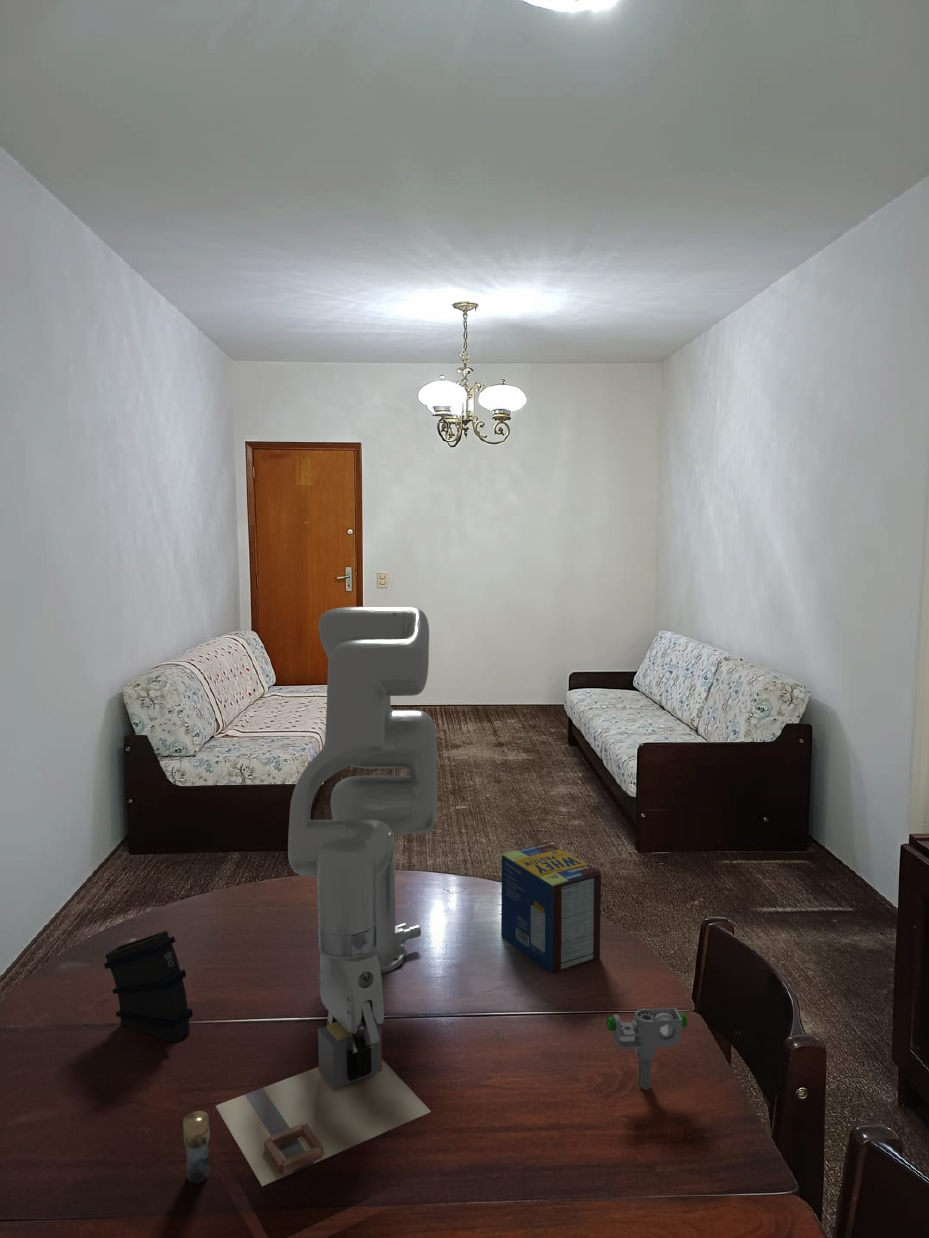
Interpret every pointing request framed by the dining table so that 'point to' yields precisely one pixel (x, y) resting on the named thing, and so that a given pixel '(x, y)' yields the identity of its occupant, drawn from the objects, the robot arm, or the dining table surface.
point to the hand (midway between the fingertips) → (350, 1064)
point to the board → (315, 1119)
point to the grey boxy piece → (342, 1054)
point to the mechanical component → (648, 1035)
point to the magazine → (150, 987)
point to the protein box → (551, 906)
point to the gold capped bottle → (197, 1145)
